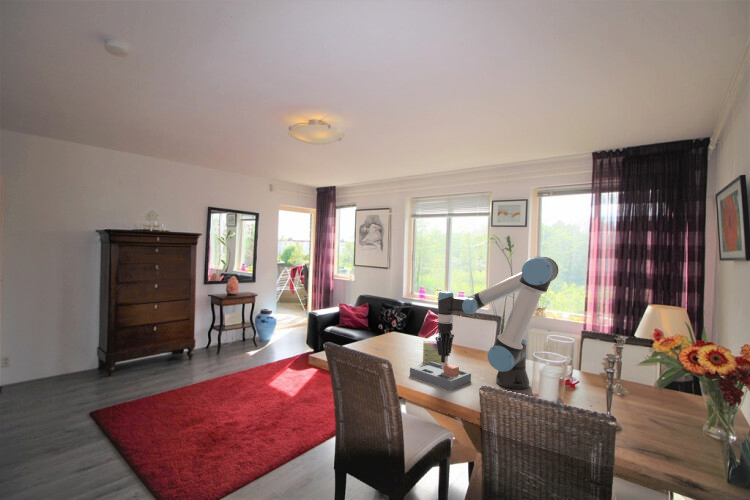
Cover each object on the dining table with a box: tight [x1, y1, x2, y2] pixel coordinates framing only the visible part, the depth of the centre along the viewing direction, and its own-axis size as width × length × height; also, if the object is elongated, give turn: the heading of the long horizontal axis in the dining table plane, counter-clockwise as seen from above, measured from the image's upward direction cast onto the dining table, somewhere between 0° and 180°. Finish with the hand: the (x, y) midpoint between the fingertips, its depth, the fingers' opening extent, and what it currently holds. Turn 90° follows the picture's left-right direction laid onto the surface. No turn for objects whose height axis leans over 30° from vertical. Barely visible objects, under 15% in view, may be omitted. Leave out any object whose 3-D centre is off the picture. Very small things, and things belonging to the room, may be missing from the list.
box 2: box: [409, 361, 472, 391], centre depth 179 cm, size 25×17×4 cm
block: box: [444, 363, 460, 377], centre depth 178 cm, size 6×5×4 cm
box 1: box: [422, 340, 441, 365], centre depth 204 cm, size 10×6×12 cm, turn 84°
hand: (444, 368), depth 181 cm, fingers closed
